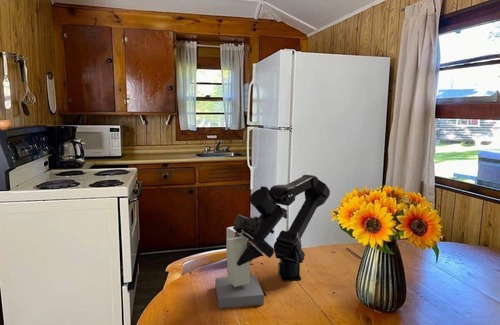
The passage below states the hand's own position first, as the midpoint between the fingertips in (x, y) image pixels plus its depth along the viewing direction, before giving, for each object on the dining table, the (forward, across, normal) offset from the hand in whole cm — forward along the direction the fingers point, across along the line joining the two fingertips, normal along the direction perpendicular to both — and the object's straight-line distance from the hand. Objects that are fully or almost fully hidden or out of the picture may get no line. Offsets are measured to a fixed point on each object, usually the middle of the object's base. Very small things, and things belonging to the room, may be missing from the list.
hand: (234, 261), depth 104 cm
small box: (0, -24, +16) cm, 29 cm away
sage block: (+4, 0, +6) cm, 7 cm away
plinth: (+7, 0, +9) cm, 11 cm away
